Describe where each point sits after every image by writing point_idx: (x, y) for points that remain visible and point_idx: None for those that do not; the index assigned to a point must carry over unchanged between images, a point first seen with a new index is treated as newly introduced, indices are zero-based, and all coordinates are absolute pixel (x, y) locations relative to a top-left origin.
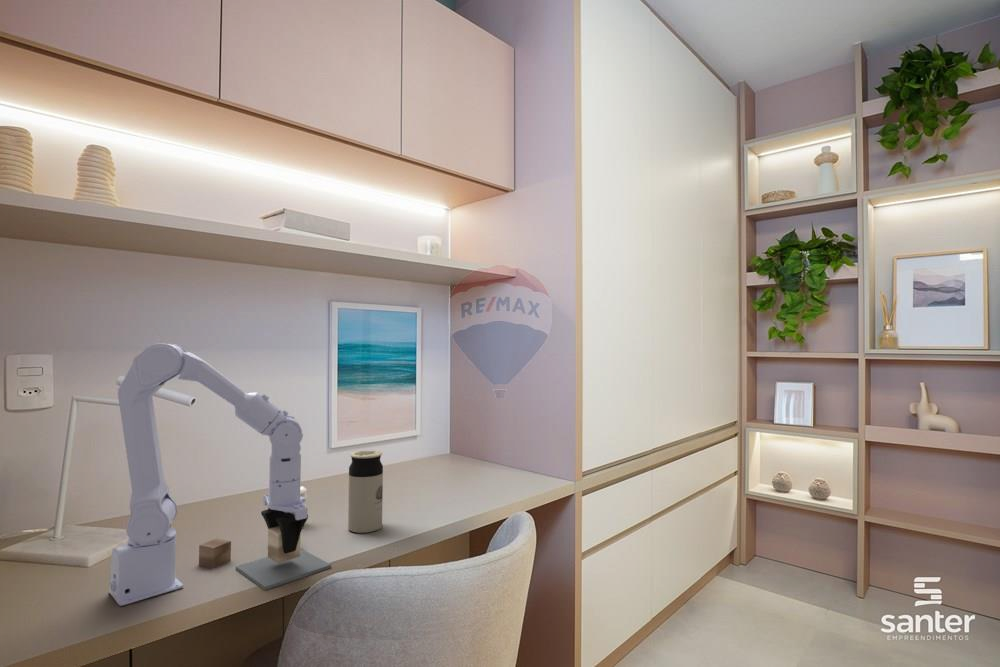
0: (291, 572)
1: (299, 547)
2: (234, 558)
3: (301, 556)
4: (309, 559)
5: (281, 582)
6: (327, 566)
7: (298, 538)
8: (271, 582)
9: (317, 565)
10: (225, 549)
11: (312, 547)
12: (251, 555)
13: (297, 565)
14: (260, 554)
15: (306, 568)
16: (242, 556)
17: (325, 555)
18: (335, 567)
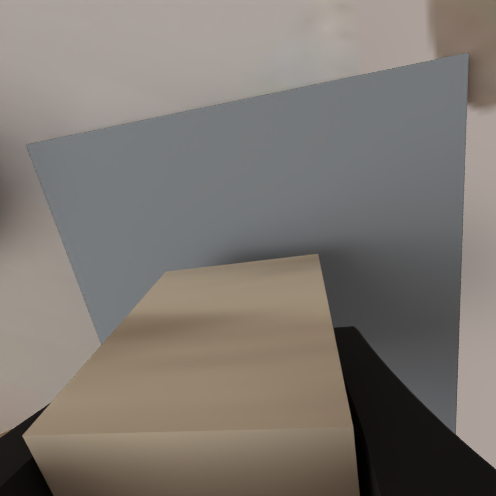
0: (388, 305)
1: (322, 287)
2: (21, 403)
3: (183, 181)
4: (264, 156)
5: (455, 369)
6: (464, 86)
7: (405, 387)
8: (431, 407)
9: (404, 146)
10: None
11: (19, 47)
12: (13, 349)
13: (312, 248)
14: (16, 318)
15: (395, 221)
16: (11, 377)
17: (209, 11)
18: (477, 23)
